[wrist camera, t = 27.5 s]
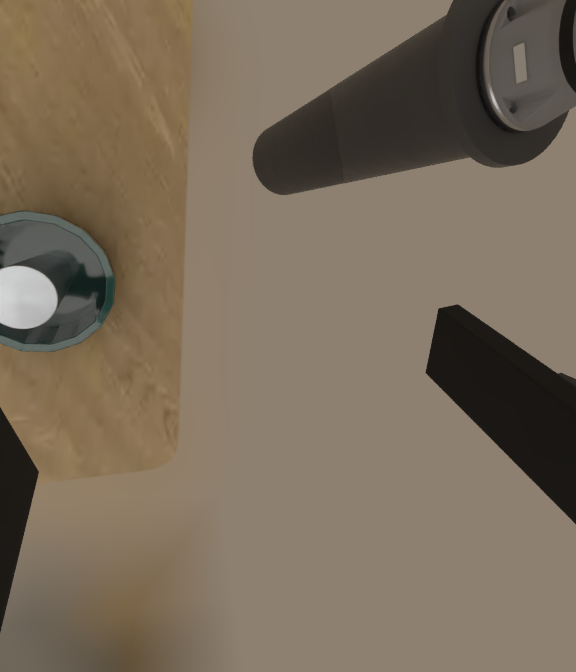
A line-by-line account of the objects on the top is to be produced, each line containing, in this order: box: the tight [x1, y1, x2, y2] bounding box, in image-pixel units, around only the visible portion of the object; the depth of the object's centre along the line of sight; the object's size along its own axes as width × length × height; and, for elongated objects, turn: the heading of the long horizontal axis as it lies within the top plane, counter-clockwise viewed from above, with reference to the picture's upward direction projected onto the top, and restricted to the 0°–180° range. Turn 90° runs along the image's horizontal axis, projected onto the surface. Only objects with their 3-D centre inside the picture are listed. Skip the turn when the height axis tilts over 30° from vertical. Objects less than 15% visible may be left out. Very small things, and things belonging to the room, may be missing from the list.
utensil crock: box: [0, 211, 115, 352], centre depth 30 cm, size 10×10×7 cm
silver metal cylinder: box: [0, 255, 72, 329], centre depth 27 cm, size 4×4×12 cm
